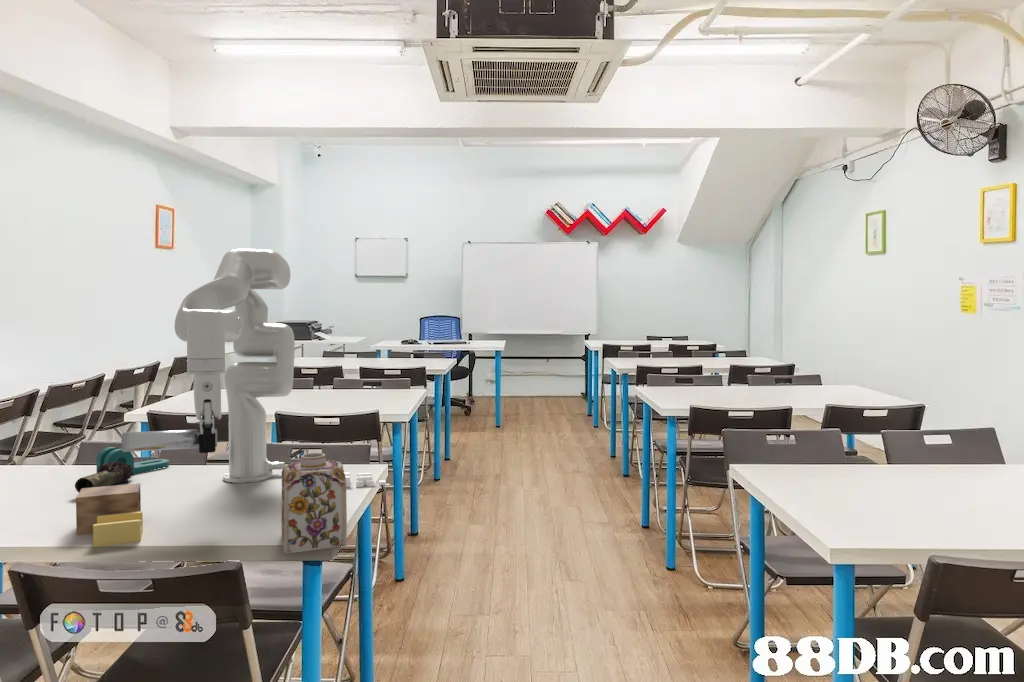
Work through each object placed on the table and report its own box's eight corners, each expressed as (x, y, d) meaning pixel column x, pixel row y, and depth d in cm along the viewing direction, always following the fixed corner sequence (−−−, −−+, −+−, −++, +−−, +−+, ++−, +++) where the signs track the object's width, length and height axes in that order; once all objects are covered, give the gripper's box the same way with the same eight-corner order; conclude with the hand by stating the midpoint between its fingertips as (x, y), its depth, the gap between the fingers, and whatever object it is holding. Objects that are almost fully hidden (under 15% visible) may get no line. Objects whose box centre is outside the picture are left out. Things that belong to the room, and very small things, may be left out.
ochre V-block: (142, 532, 142) (142, 511, 142) (140, 543, 136) (140, 520, 135) (98, 537, 139) (97, 515, 138) (93, 548, 132) (93, 525, 132)
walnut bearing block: (140, 519, 151) (140, 483, 151) (138, 529, 144) (137, 492, 143) (82, 525, 146) (81, 488, 146) (76, 536, 139) (75, 497, 139)
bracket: (108, 480, 185) (107, 452, 185) (96, 477, 189) (96, 449, 189) (173, 468, 200) (173, 441, 200) (161, 465, 204) (161, 439, 203)
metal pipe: (93, 496, 167) (94, 473, 167) (67, 495, 167) (67, 472, 167) (137, 480, 185) (137, 459, 185) (113, 479, 185) (113, 458, 185)
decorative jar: (347, 551, 132) (347, 458, 131) (283, 558, 128) (283, 463, 127) (340, 532, 143) (339, 446, 142) (281, 538, 139) (280, 450, 138)
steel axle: (216, 445, 152) (216, 427, 152) (217, 448, 149) (217, 429, 149) (123, 450, 144) (123, 431, 144) (121, 453, 141) (122, 433, 141)
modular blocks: (328, 494, 174) (328, 479, 174) (328, 487, 181) (328, 472, 180) (406, 490, 179) (406, 475, 179) (404, 483, 186) (404, 469, 185)
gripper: (227, 368, 143) (228, 456, 144) (222, 363, 158) (223, 443, 159) (187, 369, 140) (188, 459, 140) (186, 364, 155) (187, 445, 155)
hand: (206, 449), depth 150 cm, fingers closed on steel axle, 4 cm apart
